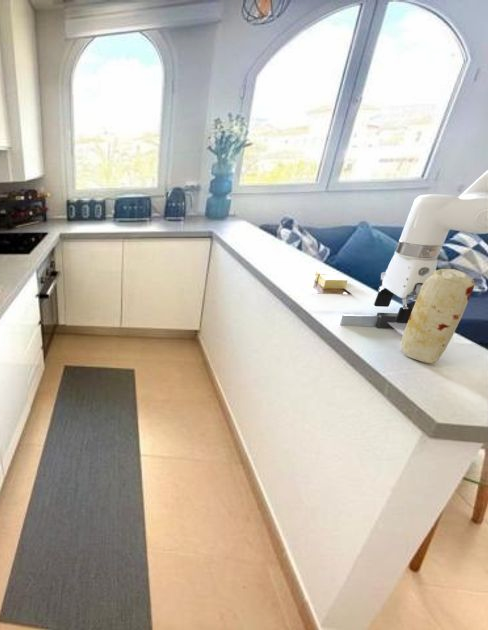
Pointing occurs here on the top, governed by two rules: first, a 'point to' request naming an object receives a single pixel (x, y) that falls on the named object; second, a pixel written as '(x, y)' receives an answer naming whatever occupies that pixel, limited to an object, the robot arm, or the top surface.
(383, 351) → the top surface
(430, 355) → the food model
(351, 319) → the knife
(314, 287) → the board
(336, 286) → the butter block
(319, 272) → the butter slice
